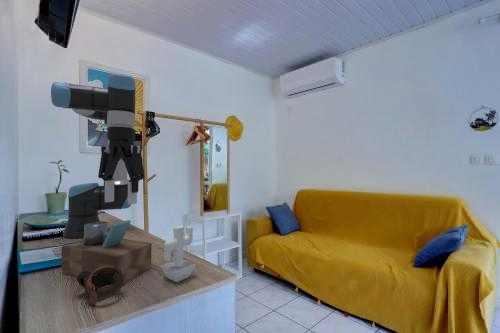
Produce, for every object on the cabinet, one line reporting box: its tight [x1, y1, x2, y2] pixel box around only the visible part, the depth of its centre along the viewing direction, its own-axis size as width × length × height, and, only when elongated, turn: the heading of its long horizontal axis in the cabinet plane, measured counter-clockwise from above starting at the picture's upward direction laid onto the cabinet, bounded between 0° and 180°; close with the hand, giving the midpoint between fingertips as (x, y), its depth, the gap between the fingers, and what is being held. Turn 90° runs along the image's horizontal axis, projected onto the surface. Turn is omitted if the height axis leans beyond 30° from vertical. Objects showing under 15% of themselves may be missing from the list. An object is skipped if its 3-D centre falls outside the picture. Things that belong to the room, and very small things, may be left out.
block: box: [61, 238, 152, 283], centre depth 79 cm, size 13×22×8 cm, turn 70°
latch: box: [102, 219, 132, 248], centre depth 78 cm, size 6×8×1 cm
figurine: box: [160, 225, 197, 283], centre depth 75 cm, size 7×9×15 cm
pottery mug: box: [76, 266, 126, 306], centre depth 64 cm, size 12×10×8 cm
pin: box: [83, 221, 109, 246], centre depth 81 cm, size 6×6×13 cm
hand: (120, 202), depth 77 cm, fingers open, 8 cm apart
